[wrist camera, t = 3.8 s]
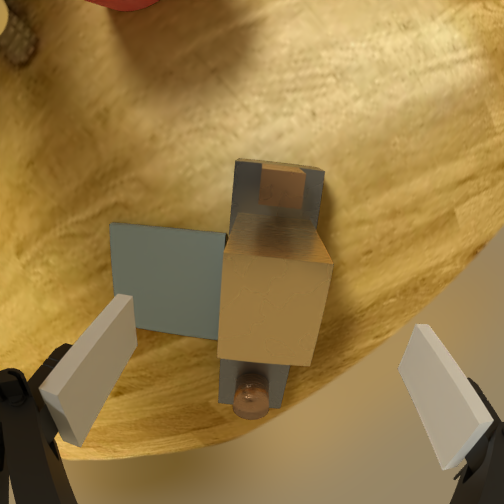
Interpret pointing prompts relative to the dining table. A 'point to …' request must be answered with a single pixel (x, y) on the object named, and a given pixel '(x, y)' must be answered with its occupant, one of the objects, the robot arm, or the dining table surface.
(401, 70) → the dining table surface
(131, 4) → the flower pot
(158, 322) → the mat
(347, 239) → the dining table surface
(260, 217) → the tan wooden block
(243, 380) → the plane body
